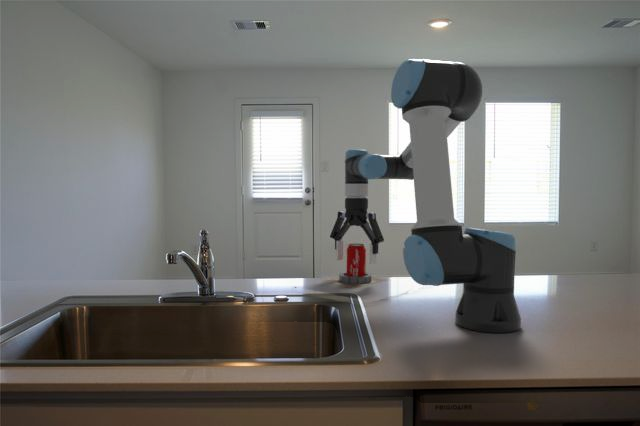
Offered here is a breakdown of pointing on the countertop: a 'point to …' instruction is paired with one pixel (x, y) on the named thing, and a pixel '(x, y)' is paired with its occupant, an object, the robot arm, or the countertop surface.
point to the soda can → (356, 260)
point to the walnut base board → (336, 281)
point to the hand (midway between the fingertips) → (355, 261)
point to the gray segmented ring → (355, 278)
